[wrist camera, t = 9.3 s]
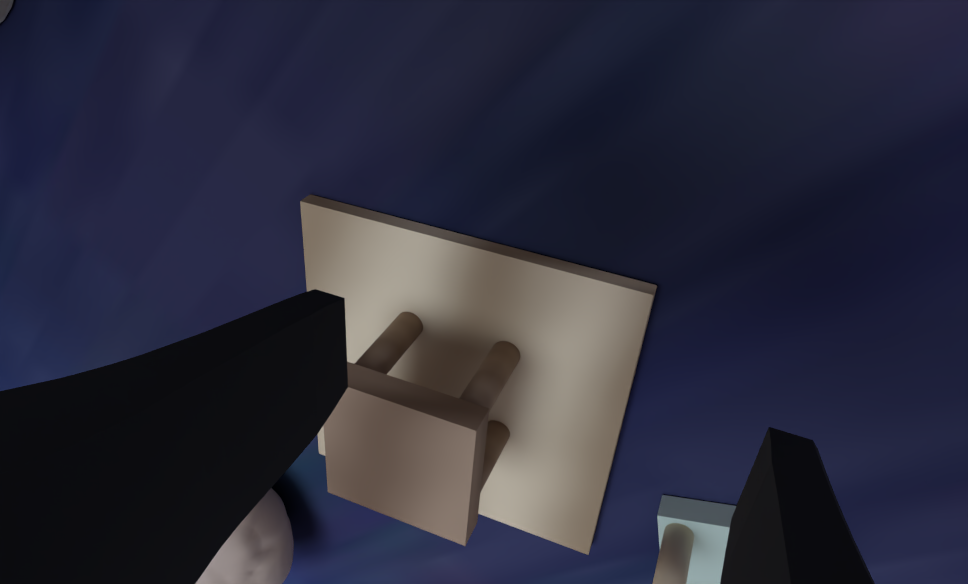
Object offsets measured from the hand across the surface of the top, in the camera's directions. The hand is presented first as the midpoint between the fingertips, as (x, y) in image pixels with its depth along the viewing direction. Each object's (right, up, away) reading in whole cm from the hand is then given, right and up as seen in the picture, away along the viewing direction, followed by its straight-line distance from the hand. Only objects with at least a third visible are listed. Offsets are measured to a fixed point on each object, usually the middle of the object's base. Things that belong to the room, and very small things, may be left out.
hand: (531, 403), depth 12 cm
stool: (-2, -1, +13) cm, 14 cm away
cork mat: (-2, -1, +14) cm, 14 cm away
